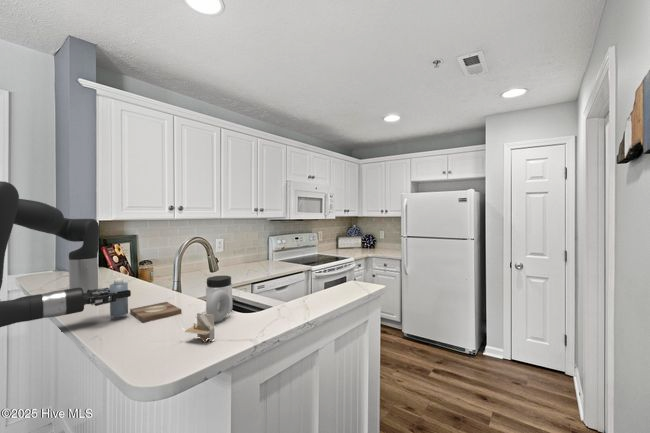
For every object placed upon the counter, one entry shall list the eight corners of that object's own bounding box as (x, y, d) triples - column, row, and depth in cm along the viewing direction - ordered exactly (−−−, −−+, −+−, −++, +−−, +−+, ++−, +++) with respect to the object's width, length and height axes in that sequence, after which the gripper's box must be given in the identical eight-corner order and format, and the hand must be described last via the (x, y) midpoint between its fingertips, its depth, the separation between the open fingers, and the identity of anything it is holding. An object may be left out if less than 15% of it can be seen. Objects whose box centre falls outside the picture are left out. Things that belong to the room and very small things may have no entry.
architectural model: (206, 347, 80) (205, 319, 80) (185, 344, 82) (184, 316, 82) (215, 342, 83) (214, 315, 83) (194, 339, 86) (193, 312, 85)
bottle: (108, 314, 102) (107, 278, 102) (125, 310, 106) (125, 276, 106) (112, 317, 99) (111, 280, 99) (130, 313, 103) (129, 278, 102)
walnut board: (130, 313, 107) (130, 308, 107) (166, 305, 116) (166, 301, 116) (142, 322, 98) (142, 317, 98) (181, 313, 106) (181, 308, 106)
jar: (212, 308, 112) (211, 275, 112) (234, 307, 113) (233, 274, 113) (203, 316, 103) (202, 280, 103) (227, 315, 104) (227, 280, 104)
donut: (213, 327, 93) (212, 294, 93) (203, 326, 94) (203, 293, 94) (232, 316, 102) (231, 286, 102) (223, 315, 103) (223, 286, 103)
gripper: (65, 294, 87) (134, 283, 99) (59, 286, 97) (122, 277, 109) (66, 320, 87) (134, 306, 99) (60, 309, 97) (122, 298, 109)
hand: (127, 291), depth 104 cm, fingers closed on bottle, 5 cm apart
